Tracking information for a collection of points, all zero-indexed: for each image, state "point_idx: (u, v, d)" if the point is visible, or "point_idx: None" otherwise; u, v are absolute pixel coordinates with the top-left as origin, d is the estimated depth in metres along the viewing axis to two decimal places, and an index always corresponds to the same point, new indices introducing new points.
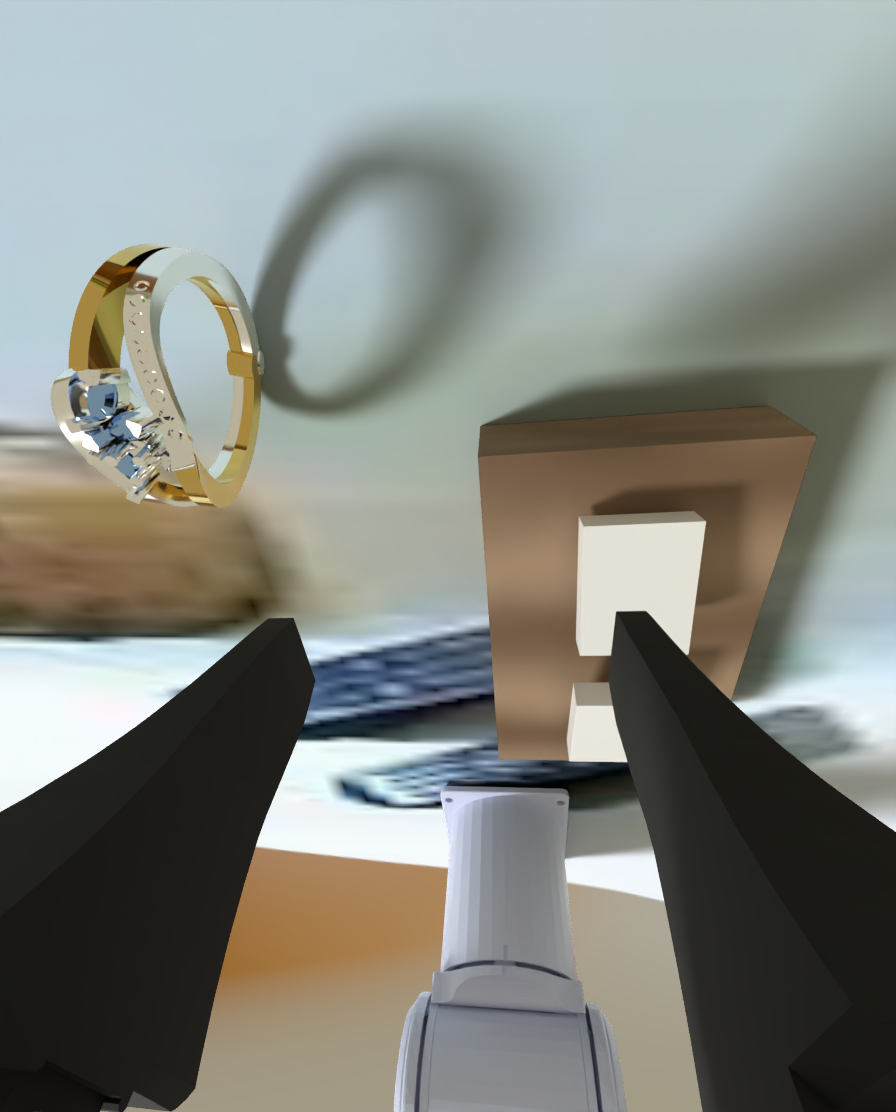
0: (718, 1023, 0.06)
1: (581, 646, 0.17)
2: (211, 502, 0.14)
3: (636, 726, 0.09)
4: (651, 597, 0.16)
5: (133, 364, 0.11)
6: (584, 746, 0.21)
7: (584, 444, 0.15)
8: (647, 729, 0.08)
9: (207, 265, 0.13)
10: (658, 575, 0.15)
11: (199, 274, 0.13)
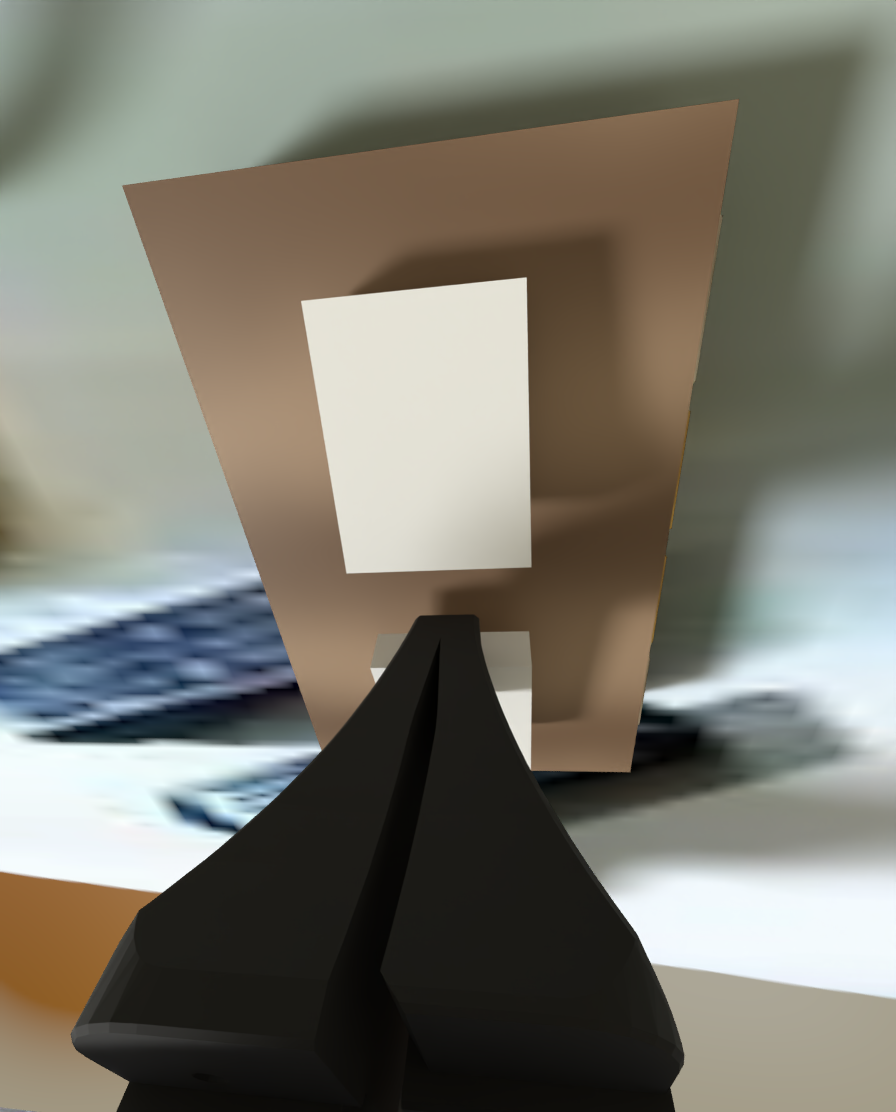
0: None
1: (345, 554, 0.09)
2: None
3: None
4: (449, 452, 0.08)
5: None
6: None
7: (318, 163, 0.08)
8: None
9: None
10: (455, 404, 0.08)
11: None
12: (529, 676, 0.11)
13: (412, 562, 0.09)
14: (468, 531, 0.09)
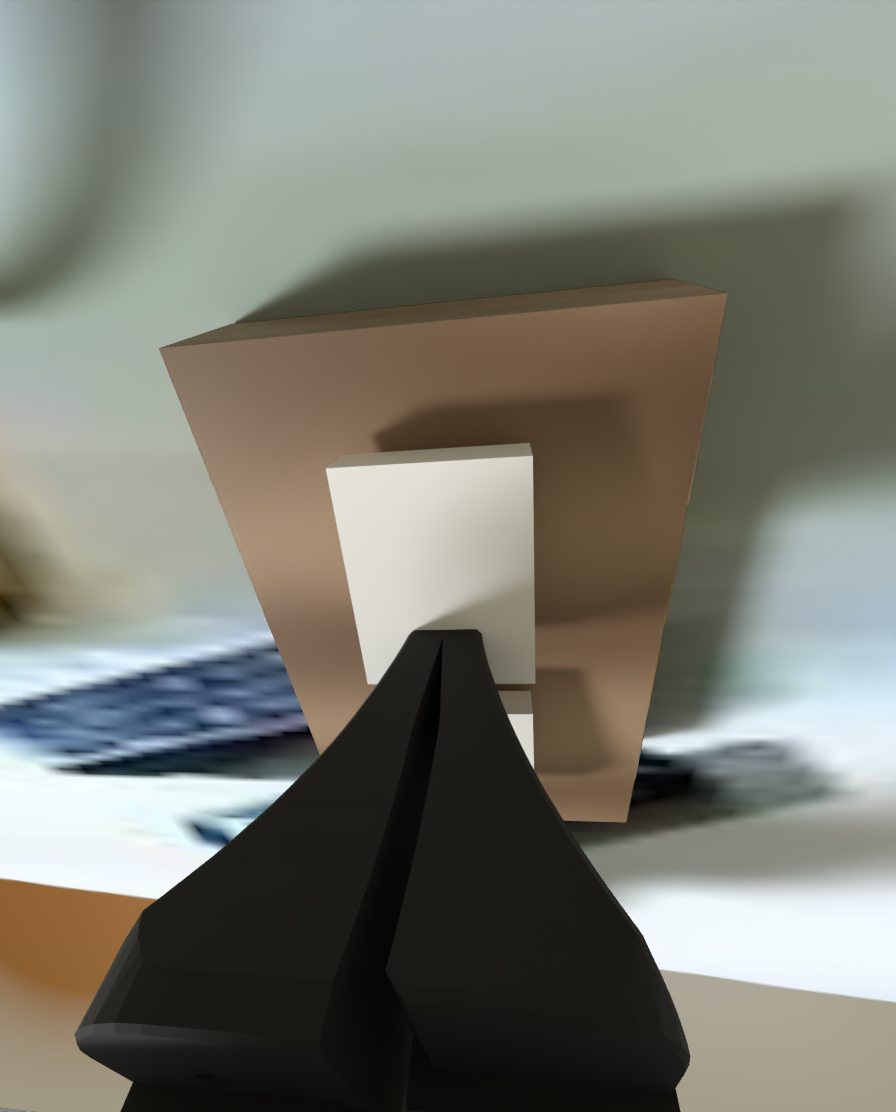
0: None
1: (366, 669, 0.10)
2: None
3: None
4: (461, 591, 0.09)
5: None
6: None
7: (339, 327, 0.09)
8: None
9: None
10: (467, 554, 0.09)
11: None
12: (531, 726, 0.12)
13: None
14: None
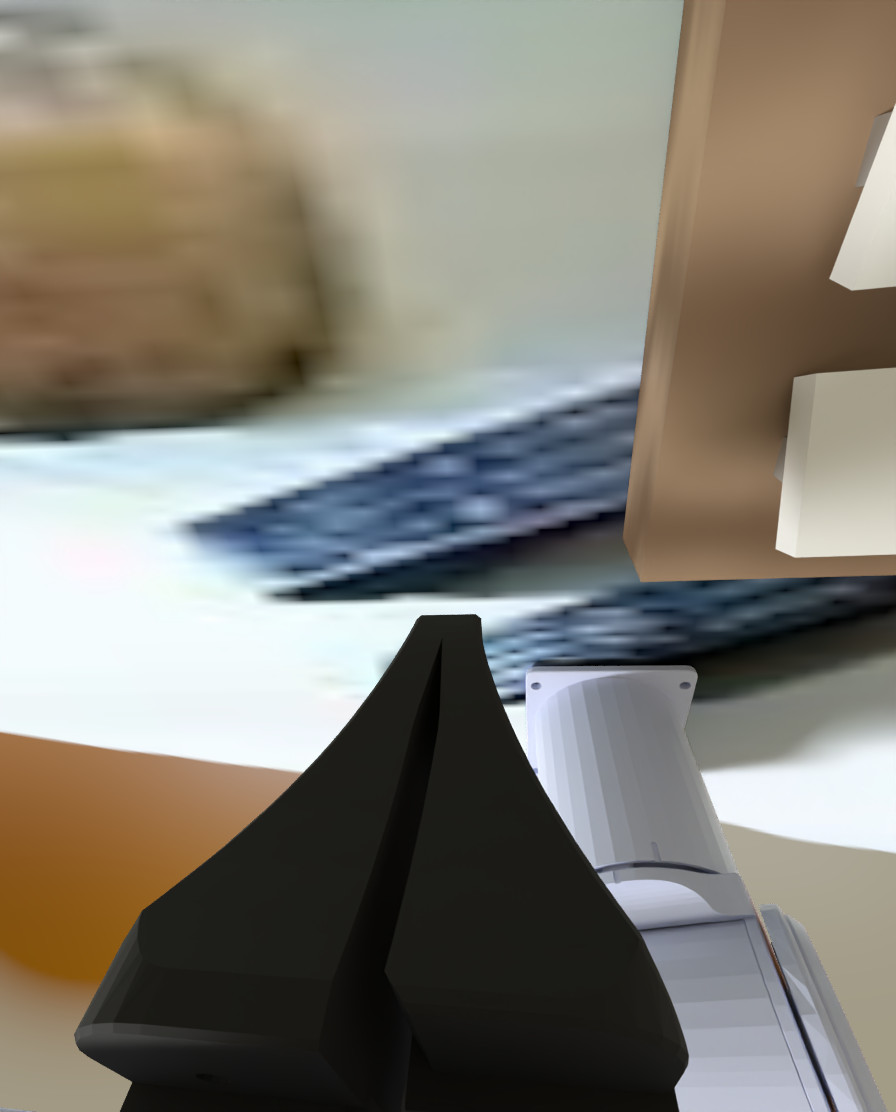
0: None
1: (862, 270, 0.11)
2: None
3: None
4: None
5: None
6: (823, 504, 0.13)
7: None
8: None
9: None
10: None
11: None
12: None
13: None
14: None
